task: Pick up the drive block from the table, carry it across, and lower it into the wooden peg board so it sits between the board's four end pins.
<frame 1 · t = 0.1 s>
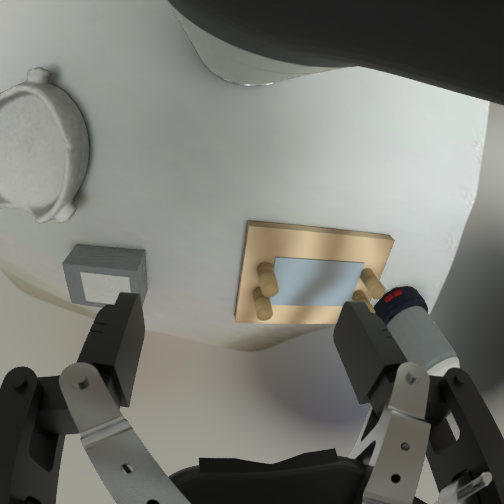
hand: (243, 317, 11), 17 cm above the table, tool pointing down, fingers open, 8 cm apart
drive block: (112, 266, 29), on the table
wooden peg board: (312, 276, 32), on the table
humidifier: (394, 308, 37), on the table
dish: (38, 143, 21), on the table
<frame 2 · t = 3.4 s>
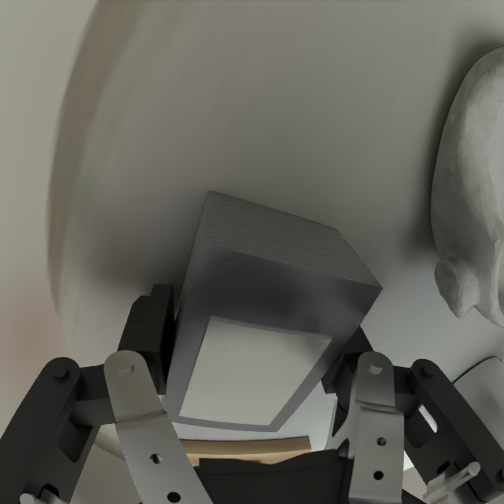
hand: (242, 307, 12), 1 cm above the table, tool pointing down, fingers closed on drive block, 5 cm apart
drive block: (242, 297, 12), on the table, touching gripper
wooden peg board: (227, 471, 22), on the table
when the fingers open (3 cm above the table, at t = 8.9 s): drive block drops 1 cm, resting on wooden peg board.
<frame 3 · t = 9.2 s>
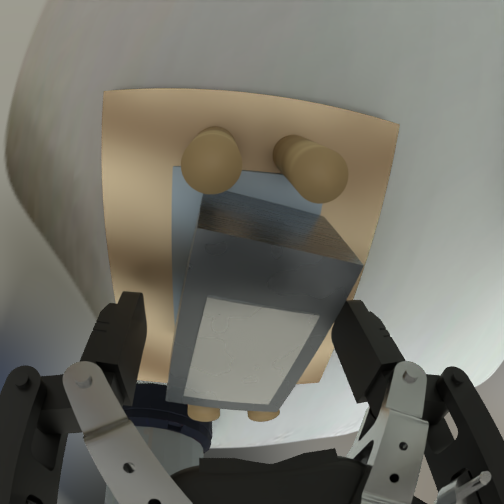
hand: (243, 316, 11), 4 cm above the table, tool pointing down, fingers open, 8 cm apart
drive block: (240, 284, 13), point 1 cm above the table, touching wooden peg board
wooden peg board: (237, 267, 14), on the table
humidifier: (161, 409, 20), on the table
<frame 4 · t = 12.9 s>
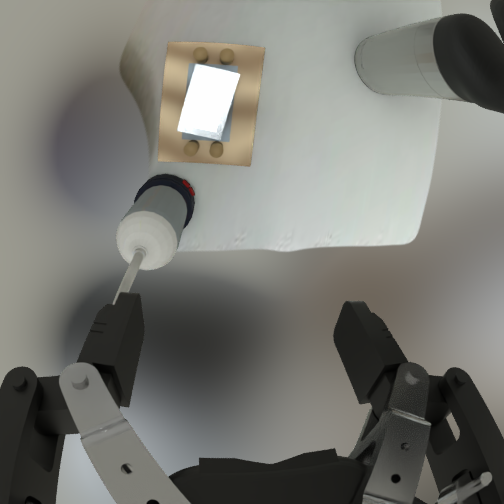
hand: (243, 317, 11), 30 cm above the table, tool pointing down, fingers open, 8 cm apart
drive block: (209, 102, 32), point 1 cm above the table, touching wooden peg board
wooden peg board: (209, 102, 33), on the table
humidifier: (166, 201, 39), on the table
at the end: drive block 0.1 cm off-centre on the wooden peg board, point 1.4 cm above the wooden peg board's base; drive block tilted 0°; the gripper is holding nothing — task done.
